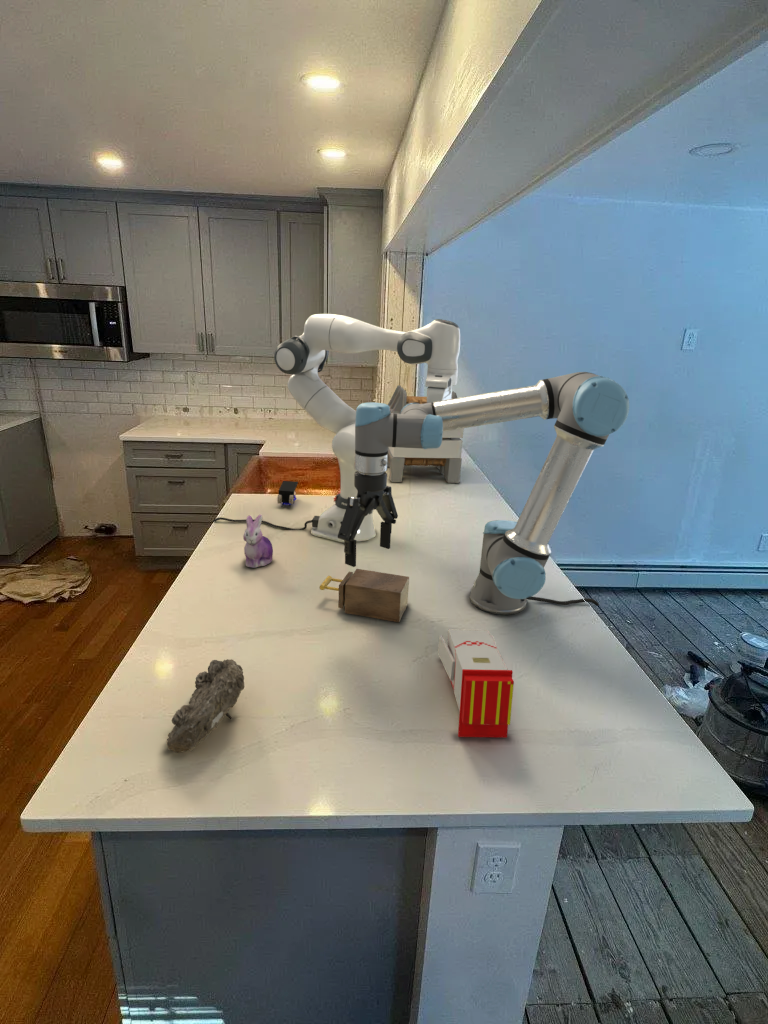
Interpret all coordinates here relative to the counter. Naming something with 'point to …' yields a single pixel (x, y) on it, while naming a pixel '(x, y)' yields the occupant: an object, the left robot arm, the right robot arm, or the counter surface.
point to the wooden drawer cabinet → (376, 595)
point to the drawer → (341, 588)
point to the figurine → (256, 544)
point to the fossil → (206, 705)
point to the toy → (478, 682)
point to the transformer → (441, 457)
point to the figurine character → (287, 493)
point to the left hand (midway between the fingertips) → (438, 425)
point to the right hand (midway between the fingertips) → (368, 556)
